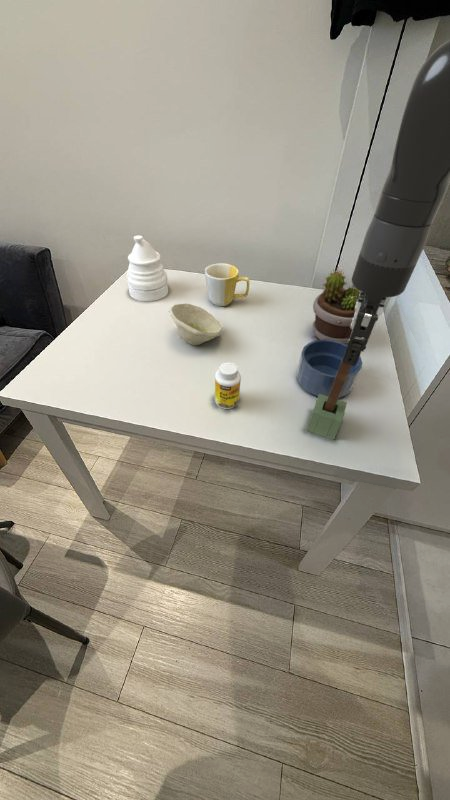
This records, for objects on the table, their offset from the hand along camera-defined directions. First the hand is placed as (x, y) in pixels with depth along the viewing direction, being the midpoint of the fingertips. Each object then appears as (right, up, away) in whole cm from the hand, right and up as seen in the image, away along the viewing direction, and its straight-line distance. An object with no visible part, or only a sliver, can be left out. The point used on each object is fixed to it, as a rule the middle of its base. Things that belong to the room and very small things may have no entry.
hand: (352, 348), depth 56 cm
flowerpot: (+9, +10, +39) cm, 41 cm away
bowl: (-30, +8, +35) cm, 47 cm away
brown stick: (-1, -14, +15) cm, 21 cm away
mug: (-22, +23, +50) cm, 59 cm away
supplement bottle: (-22, -9, +20) cm, 31 cm away
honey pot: (-48, +28, +53) cm, 77 cm away
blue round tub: (+3, -4, +25) cm, 26 cm away
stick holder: (-1, -14, +15) cm, 21 cm away
